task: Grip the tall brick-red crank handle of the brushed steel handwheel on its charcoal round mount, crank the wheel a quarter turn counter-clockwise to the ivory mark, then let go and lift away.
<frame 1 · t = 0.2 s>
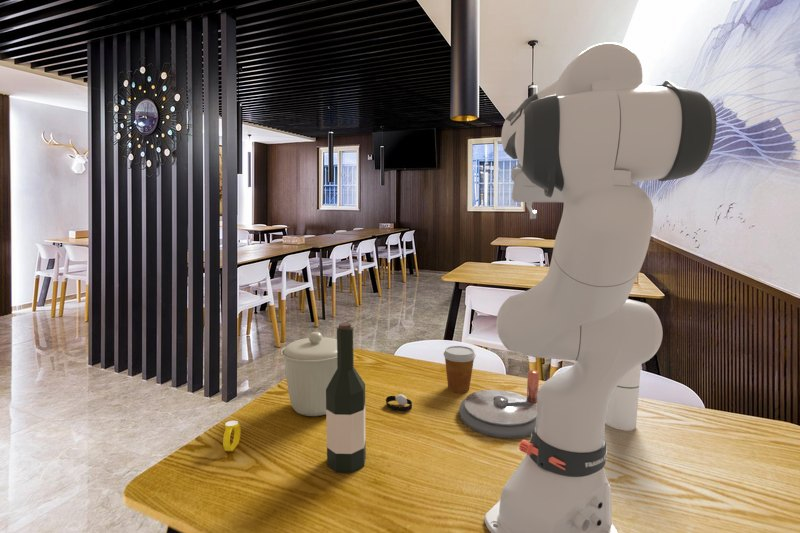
hand: (552, 218, 106), 51 cm above the table, tool tilted 20°, fingers open, 8 cm apart
canister: (316, 408, 116), on the table
wine bottle: (346, 462, 91), on the table
disposable coffee cup: (458, 389, 129), on the table
cylindrical container: (619, 424, 108), on the table
watch 2: (232, 448, 96), on the table
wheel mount: (500, 417, 111), on the table
watch: (398, 409, 116), on the table
handwheel: (502, 391, 110), point 7 cm above the table, hinge at 0.0°
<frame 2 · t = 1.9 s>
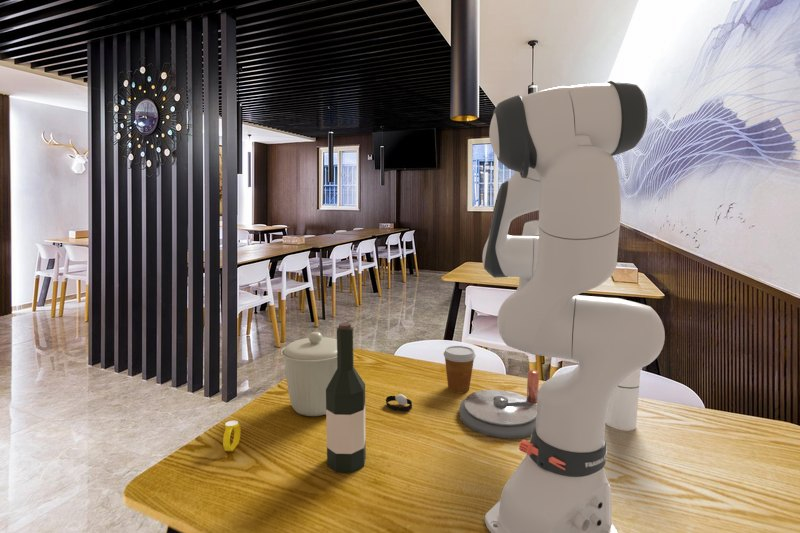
hand: (534, 338, 109), 21 cm above the table, tool pointing down, fingers open, 8 cm apart
nothing on the table moved.
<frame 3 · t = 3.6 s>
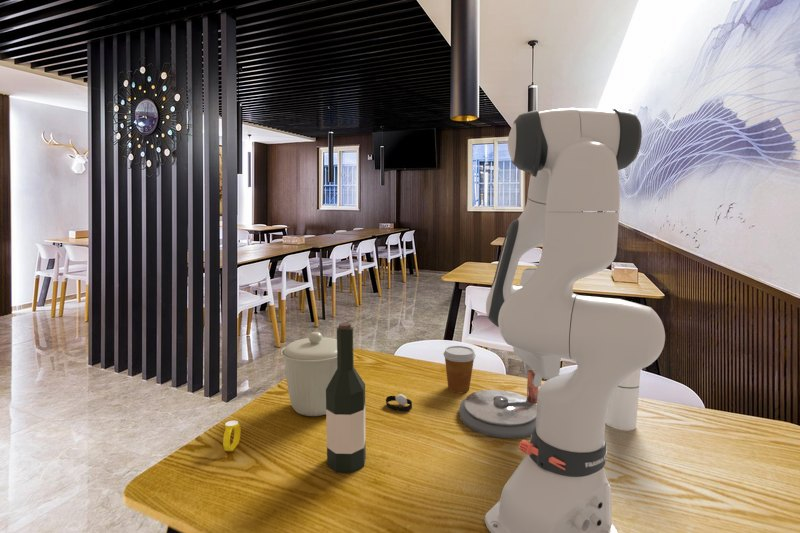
hand: (533, 382, 110), 9 cm above the table, tool pointing down, fingers closed on handwheel, 3 cm apart
handwheel: (502, 391, 110), point 7 cm above the table, hinge at 0.0°, touching gripper
everything else where it was.
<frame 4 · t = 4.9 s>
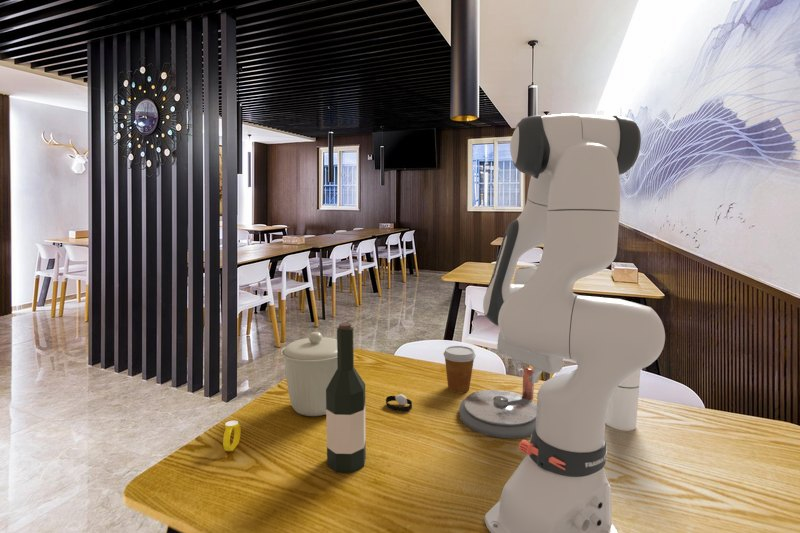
hand: (526, 378, 113), 9 cm above the table, tool pointing down, fingers open, 4 cm apart
handwheel: (502, 390, 110), point 7 cm above the table, hinge at 15.0°, touching gripper
everything else where it was.
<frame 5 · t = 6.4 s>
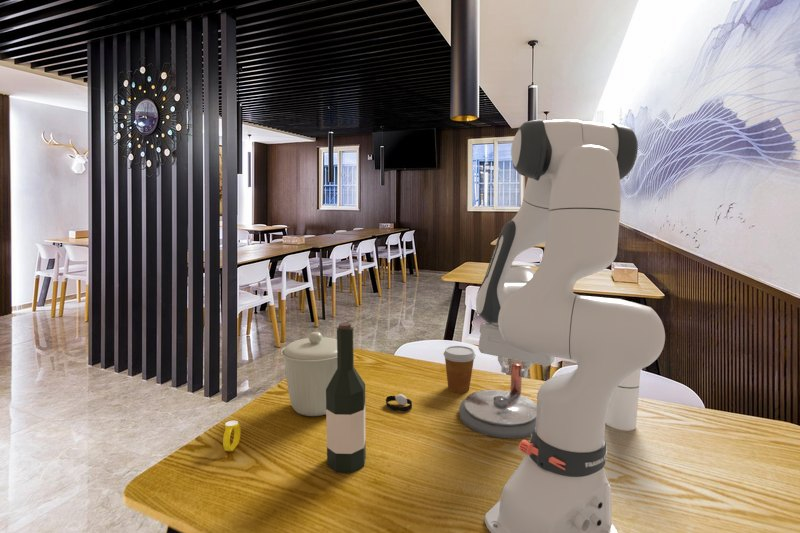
hand: (514, 374, 116), 9 cm above the table, tool pointing down, fingers open, 4 cm apart
handwheel: (501, 390, 110), point 7 cm above the table, hinge at 42.1°, touching gripper
everything else where it was.
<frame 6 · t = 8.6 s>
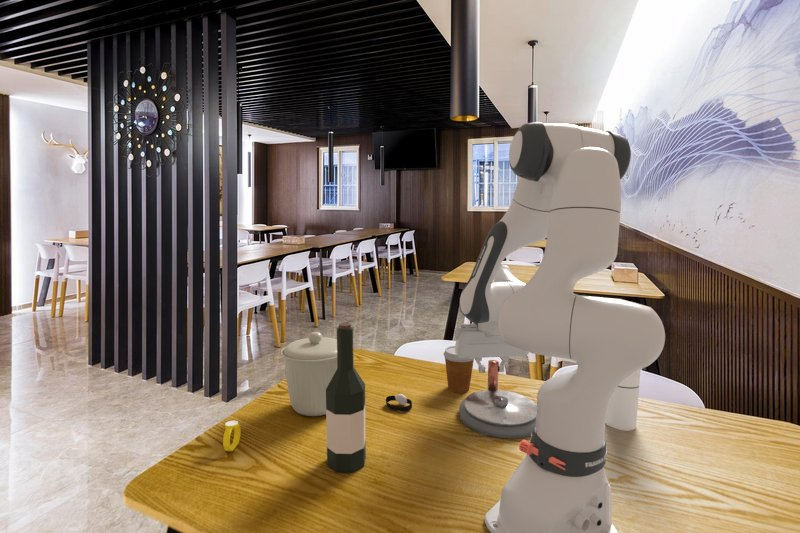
hand: (491, 371, 118), 9 cm above the table, tool pointing down, fingers open, 4 cm apart
handwheel: (500, 390, 110), point 7 cm above the table, hinge at 85.1°, touching gripper
everything else where it was.
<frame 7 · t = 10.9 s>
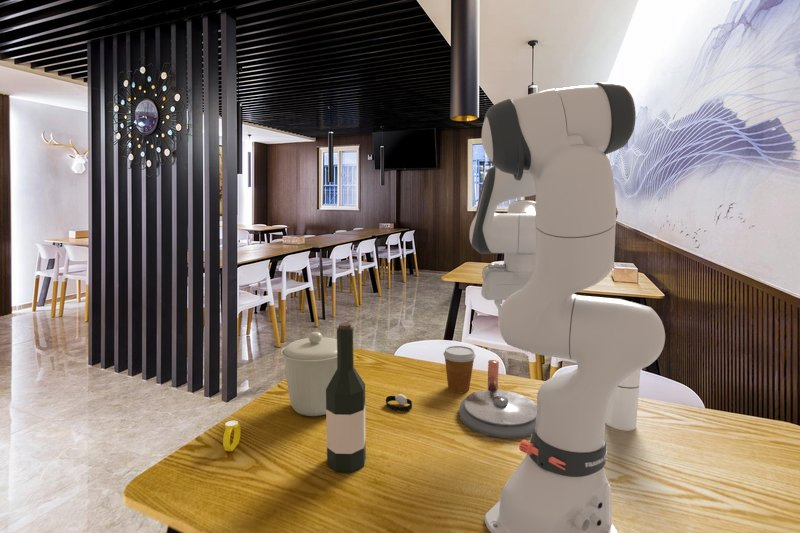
hand: (519, 316, 112), 26 cm above the table, tool pointing down, fingers open, 8 cm apart
handwheel: (500, 390, 110), point 7 cm above the table, hinge at 85.1°
everything else where it was.
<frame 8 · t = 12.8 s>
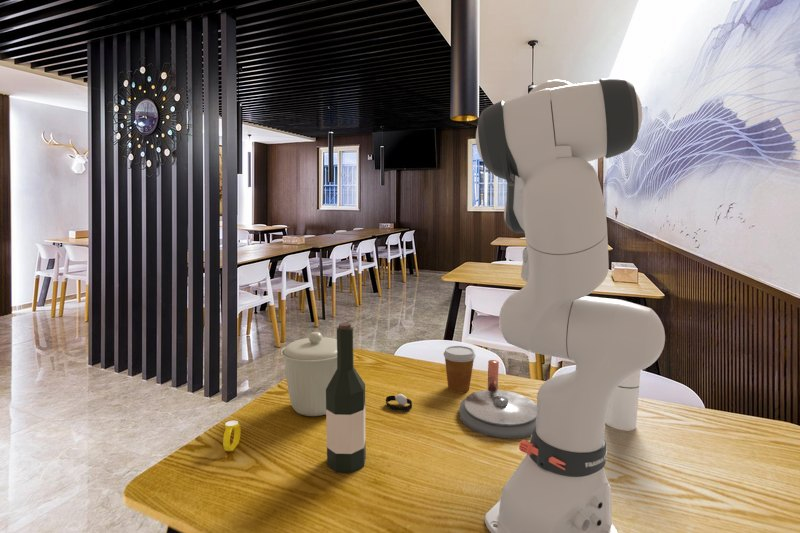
hand: (560, 299, 107), 31 cm above the table, tool pointing down, fingers open, 8 cm apart
nothing on the table moved.
at the end: handwheel at +85° (first picture: +0°); the gripper is holding nothing; disposable coffee cup moved 0.2 cm from its start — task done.
